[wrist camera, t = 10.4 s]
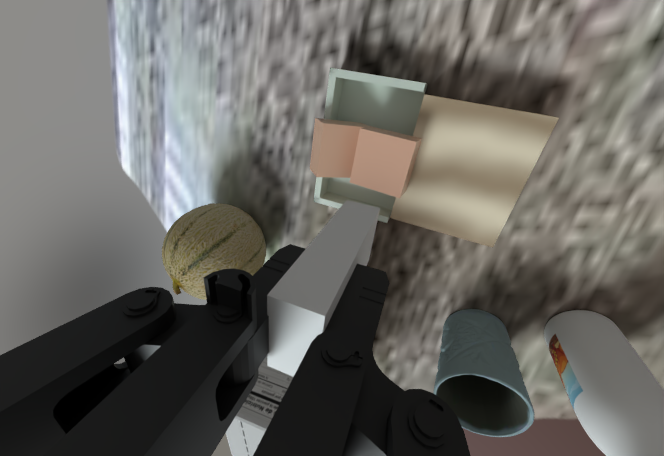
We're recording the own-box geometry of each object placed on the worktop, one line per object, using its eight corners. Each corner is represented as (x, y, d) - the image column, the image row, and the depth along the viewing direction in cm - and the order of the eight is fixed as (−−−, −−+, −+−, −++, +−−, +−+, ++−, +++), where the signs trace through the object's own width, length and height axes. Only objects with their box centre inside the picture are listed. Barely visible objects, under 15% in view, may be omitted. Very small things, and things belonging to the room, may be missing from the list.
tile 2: (373, 128, 32) (362, 122, 34) (323, 123, 29) (315, 117, 32) (362, 178, 34) (353, 170, 37) (316, 177, 32) (309, 168, 35)
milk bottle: (557, 300, 36) (658, 488, 19) (631, 318, 33) (821, 550, 17) (532, 342, 39) (599, 531, 22) (598, 361, 37) (727, 587, 20)
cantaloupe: (284, 204, 44) (219, 249, 31) (280, 276, 51) (225, 337, 38) (208, 182, 48) (122, 214, 35) (213, 252, 55) (144, 300, 42)
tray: (340, 69, 33) (330, 67, 30) (427, 84, 31) (425, 83, 28) (323, 193, 41) (313, 201, 38) (391, 212, 38) (387, 222, 35)
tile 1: (369, 125, 31) (360, 128, 29) (422, 138, 29) (416, 142, 27) (359, 176, 34) (349, 182, 32) (406, 191, 32) (399, 198, 30)
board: (426, 94, 31) (424, 94, 28) (545, 114, 28) (559, 117, 25) (394, 206, 38) (389, 218, 34) (488, 232, 35) (492, 247, 32)
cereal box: (356, 366, 54) (300, 542, 33) (320, 354, 56) (246, 511, 35) (363, 275, 44) (289, 440, 23) (319, 265, 47) (216, 407, 26)
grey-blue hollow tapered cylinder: (518, 355, 41) (542, 442, 31) (446, 357, 45) (446, 433, 35) (502, 300, 38) (523, 375, 28) (428, 307, 43) (422, 374, 33)
